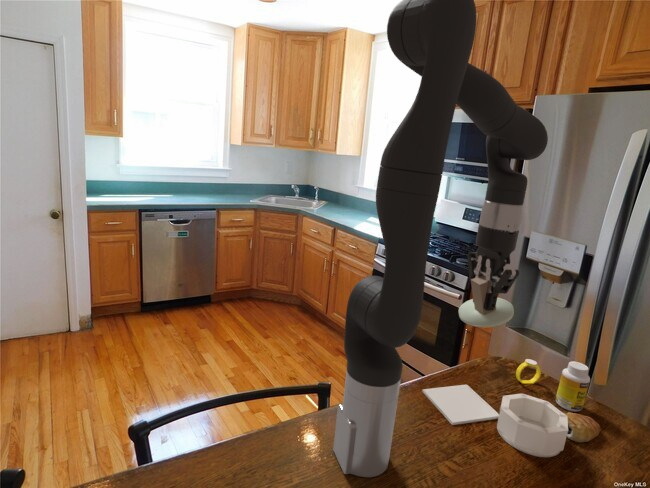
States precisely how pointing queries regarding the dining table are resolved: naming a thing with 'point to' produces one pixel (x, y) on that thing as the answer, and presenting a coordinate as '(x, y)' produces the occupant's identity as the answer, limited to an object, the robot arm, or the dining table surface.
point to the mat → (460, 404)
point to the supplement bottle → (573, 386)
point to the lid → (477, 314)
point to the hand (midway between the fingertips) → (483, 306)
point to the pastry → (581, 427)
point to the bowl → (532, 425)
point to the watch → (527, 363)
